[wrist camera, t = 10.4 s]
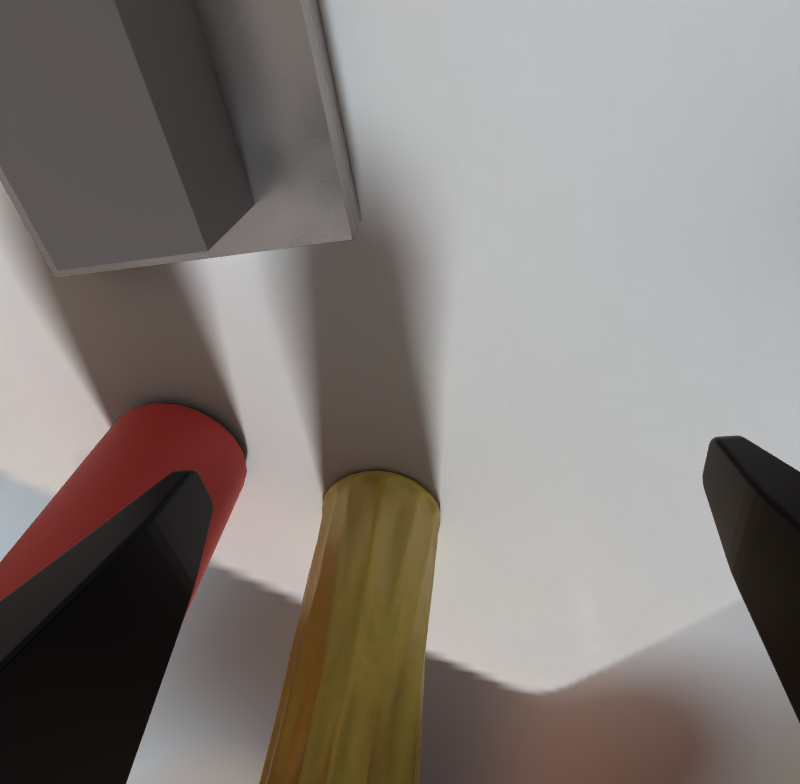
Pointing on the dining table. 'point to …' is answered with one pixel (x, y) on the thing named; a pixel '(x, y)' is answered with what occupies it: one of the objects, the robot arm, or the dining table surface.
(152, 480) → the beer can
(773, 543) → the robot arm
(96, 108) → the grey rectangular block
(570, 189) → the dining table surface
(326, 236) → the mount plate
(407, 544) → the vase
